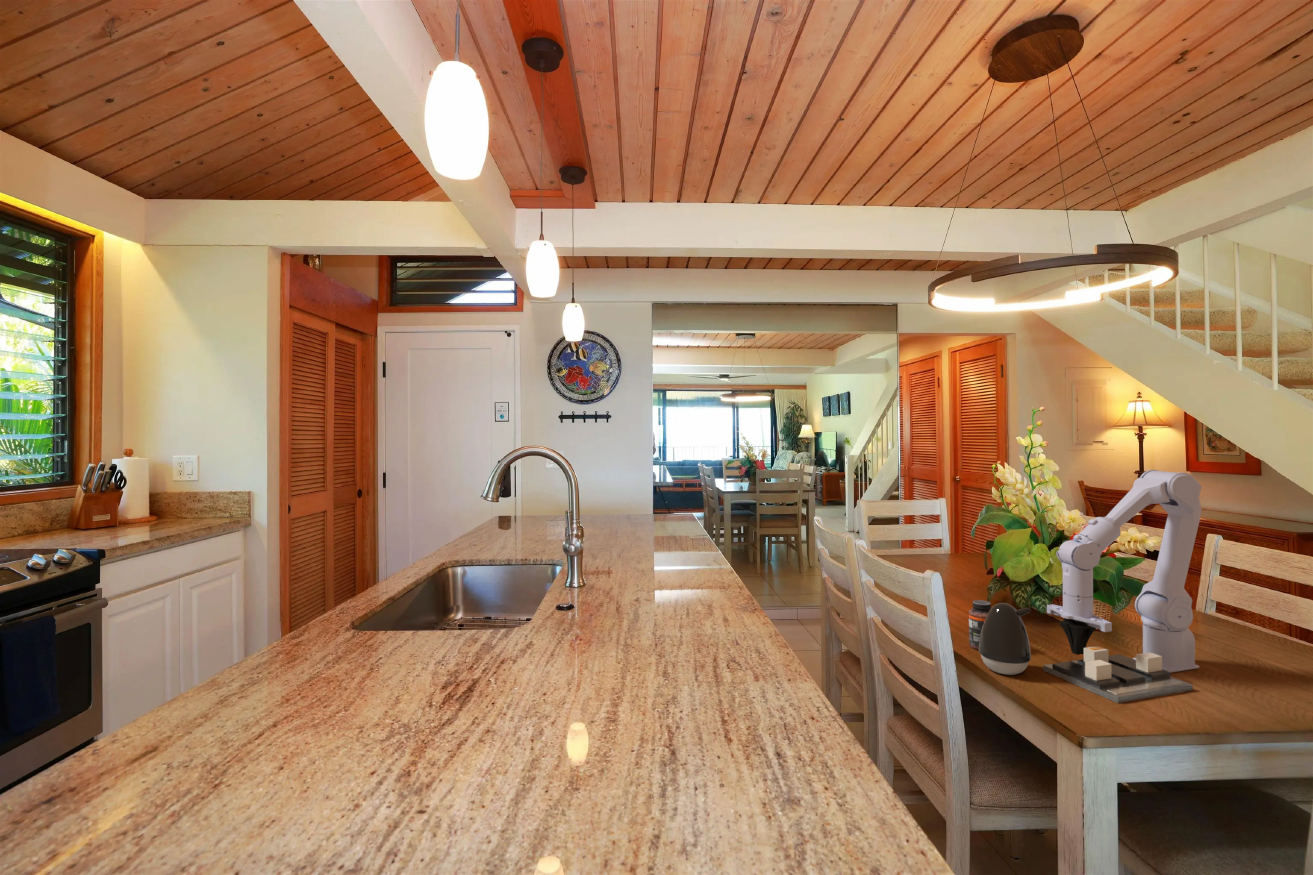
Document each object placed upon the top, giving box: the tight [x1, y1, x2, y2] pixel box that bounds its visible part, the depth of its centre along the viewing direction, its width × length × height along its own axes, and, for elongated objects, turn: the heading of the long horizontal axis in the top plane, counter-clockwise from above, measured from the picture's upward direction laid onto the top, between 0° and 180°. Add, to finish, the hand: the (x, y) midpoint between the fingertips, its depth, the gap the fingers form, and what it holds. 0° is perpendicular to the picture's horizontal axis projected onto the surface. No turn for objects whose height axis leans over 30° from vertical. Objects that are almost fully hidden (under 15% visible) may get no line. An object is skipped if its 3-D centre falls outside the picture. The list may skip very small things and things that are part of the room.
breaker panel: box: [1042, 653, 1194, 704], centre depth 132 cm, size 20×17×2 cm
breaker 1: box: [1085, 660, 1111, 681], centre depth 129 cm, size 4×2×3 cm, turn 105°
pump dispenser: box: [978, 602, 1032, 676], centre depth 138 cm, size 10×10×15 cm
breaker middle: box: [1083, 645, 1109, 663], centre depth 136 cm, size 4×2×3 cm, turn 105°
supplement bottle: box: [968, 599, 992, 651], centre depth 152 cm, size 6×6×11 cm
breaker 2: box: [1135, 652, 1162, 673], centre depth 132 cm, size 4×2×3 cm, turn 105°
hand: (1077, 653), depth 141 cm, fingers closed
